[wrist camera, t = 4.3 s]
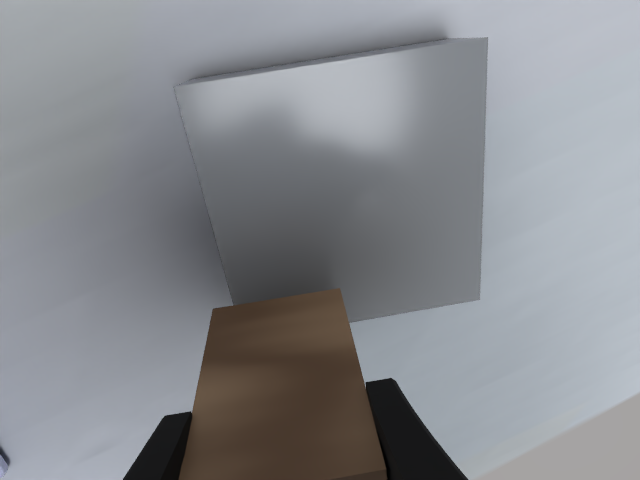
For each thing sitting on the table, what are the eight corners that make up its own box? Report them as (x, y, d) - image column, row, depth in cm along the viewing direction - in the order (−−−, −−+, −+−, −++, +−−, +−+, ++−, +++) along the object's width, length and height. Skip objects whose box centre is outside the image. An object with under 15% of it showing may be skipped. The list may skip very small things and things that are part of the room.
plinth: (248, 297, 18) (243, 341, 16) (192, 78, 14) (173, 87, 12) (449, 262, 19) (479, 299, 16) (448, 38, 15) (488, 37, 12)
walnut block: (240, 398, 15) (223, 606, 10) (212, 308, 13) (172, 507, 8) (351, 379, 15) (394, 574, 10) (340, 288, 13) (386, 469, 8)
